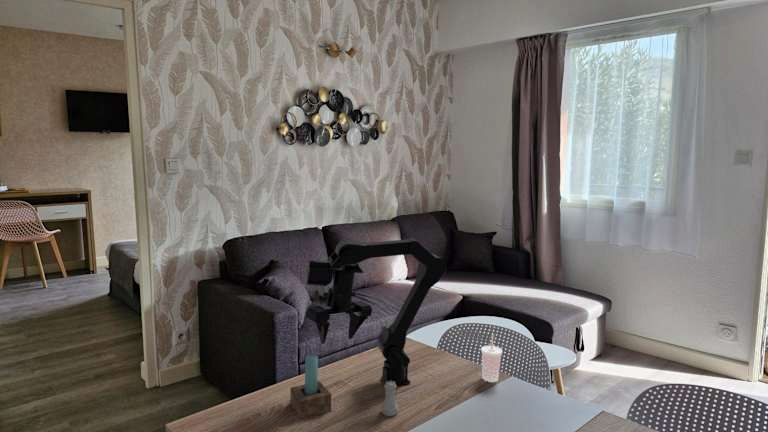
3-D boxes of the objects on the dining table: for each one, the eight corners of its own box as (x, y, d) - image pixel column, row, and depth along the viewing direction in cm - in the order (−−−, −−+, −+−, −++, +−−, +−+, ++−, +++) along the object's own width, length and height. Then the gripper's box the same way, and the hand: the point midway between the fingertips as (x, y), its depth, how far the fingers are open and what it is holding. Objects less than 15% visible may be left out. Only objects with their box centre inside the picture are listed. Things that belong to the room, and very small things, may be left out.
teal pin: (314, 401, 133) (315, 353, 131) (318, 406, 130) (319, 358, 128) (302, 403, 131) (303, 356, 130) (307, 409, 129) (308, 360, 127)
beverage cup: (504, 382, 147) (506, 336, 145) (483, 383, 146) (486, 337, 144) (496, 373, 153) (498, 329, 151) (476, 374, 152) (479, 329, 150)
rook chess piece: (396, 418, 127) (397, 387, 125) (379, 415, 127) (380, 385, 126) (399, 409, 131) (400, 379, 130) (382, 406, 132) (383, 377, 131)
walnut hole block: (319, 396, 136) (319, 381, 136) (331, 410, 129) (331, 394, 129) (290, 403, 132) (290, 387, 132) (301, 418, 125) (301, 401, 125)
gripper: (353, 276, 150) (347, 326, 152) (298, 280, 138) (292, 335, 141) (376, 287, 142) (369, 340, 144) (320, 293, 130) (313, 350, 132)
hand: (336, 340), depth 140 cm, fingers open, 9 cm apart
